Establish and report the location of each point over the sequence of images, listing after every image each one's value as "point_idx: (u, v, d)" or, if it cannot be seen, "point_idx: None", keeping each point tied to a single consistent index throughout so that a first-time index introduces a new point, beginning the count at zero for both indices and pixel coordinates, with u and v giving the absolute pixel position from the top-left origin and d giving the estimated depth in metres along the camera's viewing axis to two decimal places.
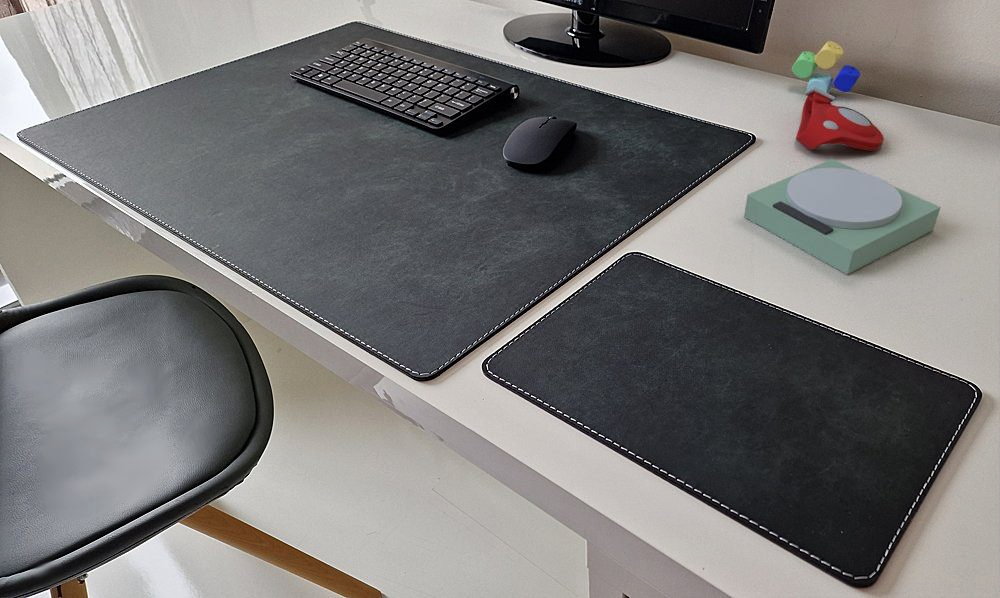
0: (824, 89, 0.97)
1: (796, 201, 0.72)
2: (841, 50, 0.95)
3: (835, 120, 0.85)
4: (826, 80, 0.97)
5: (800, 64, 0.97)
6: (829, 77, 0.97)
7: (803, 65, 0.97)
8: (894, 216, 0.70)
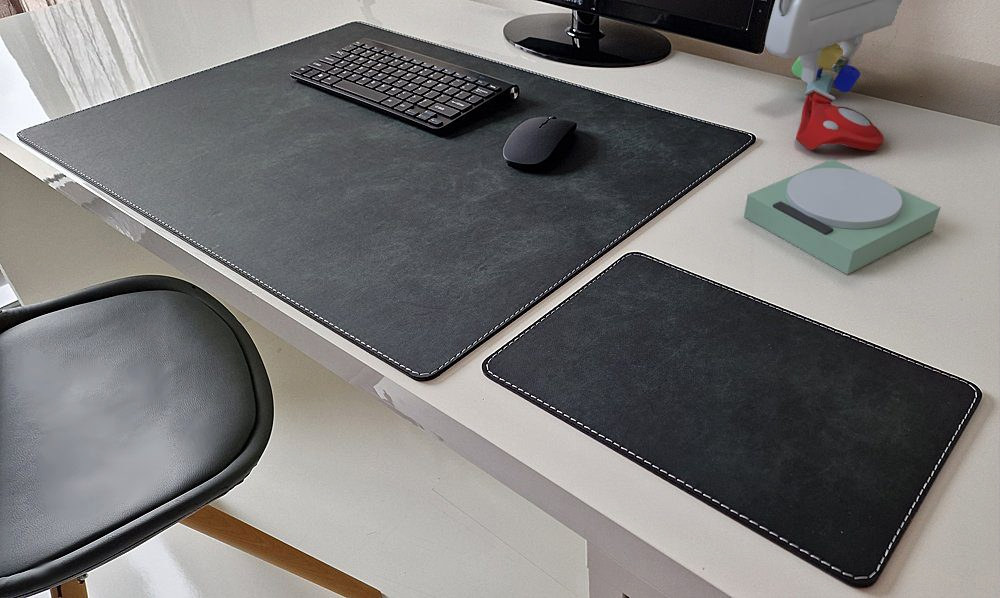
0: (824, 89, 0.97)
1: (796, 201, 0.72)
2: (841, 50, 0.95)
3: (834, 120, 0.85)
4: (826, 80, 0.97)
5: (800, 64, 0.97)
6: (829, 77, 0.97)
7: None
8: (894, 216, 0.70)
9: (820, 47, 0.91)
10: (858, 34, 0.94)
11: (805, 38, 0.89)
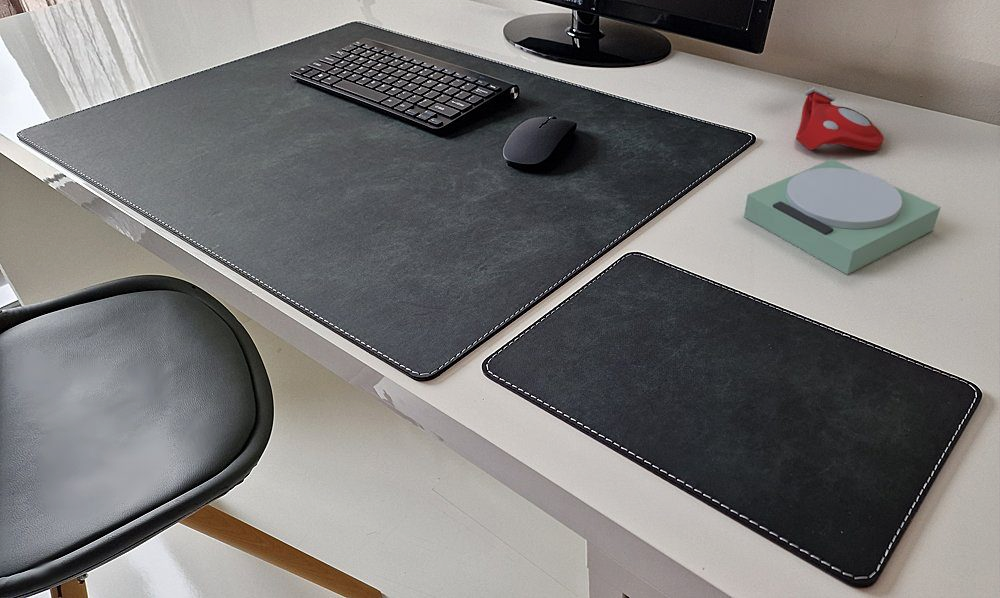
0: None
1: (796, 201, 0.72)
2: None
3: (834, 120, 0.85)
4: None
5: None
6: None
7: None
8: (894, 216, 0.70)
9: None
10: None
11: None
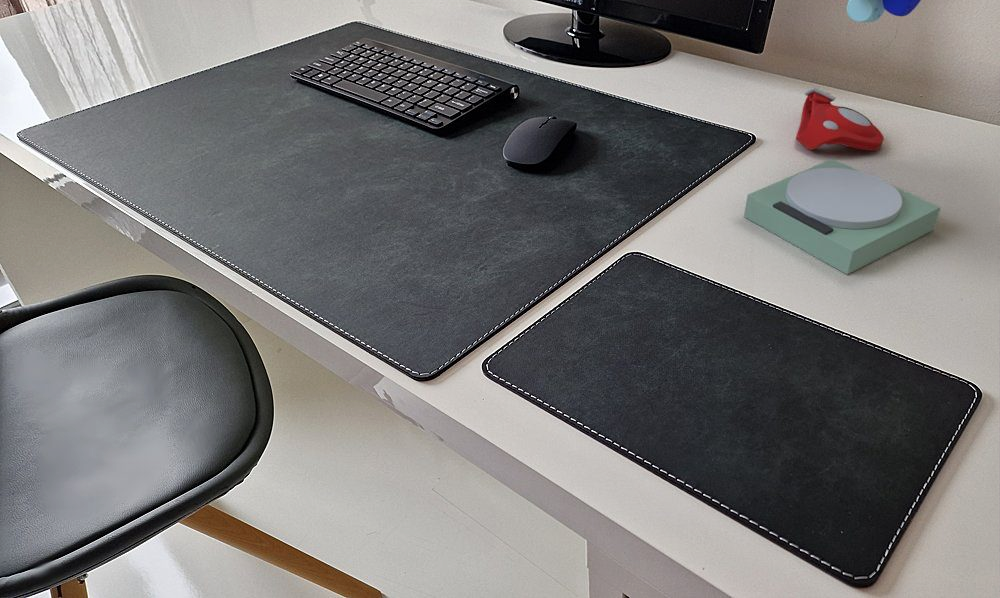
0: (869, 10, 0.69)
1: (796, 201, 0.72)
2: None
3: (834, 120, 0.85)
4: None
5: None
6: None
7: None
8: (894, 216, 0.70)
9: None
10: None
11: None
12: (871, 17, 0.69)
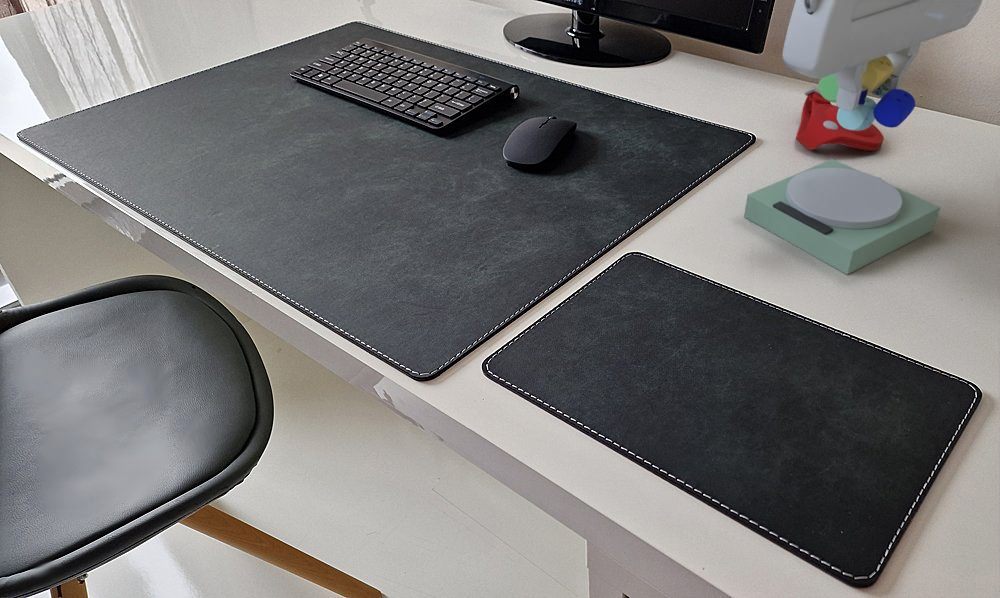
0: (859, 120, 0.67)
1: (796, 201, 0.72)
2: (890, 66, 0.65)
3: (834, 120, 0.85)
4: (864, 107, 0.67)
5: (829, 81, 0.68)
6: (870, 104, 0.68)
7: (833, 83, 0.68)
8: (894, 216, 0.70)
9: (864, 61, 0.62)
10: (918, 41, 0.64)
11: (842, 48, 0.59)
12: (862, 126, 0.68)
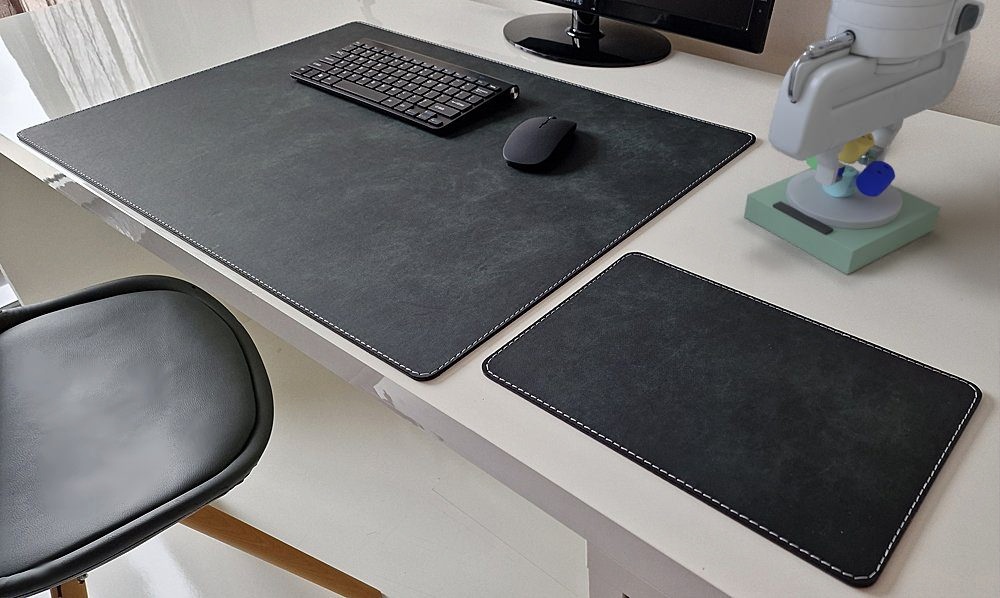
0: (843, 188, 0.71)
1: (796, 201, 0.72)
2: (871, 140, 0.69)
3: None
4: (847, 177, 0.71)
5: None
6: (853, 173, 0.72)
7: None
8: (894, 216, 0.70)
9: (845, 142, 0.66)
10: (896, 120, 0.68)
11: (824, 133, 0.63)
12: (845, 194, 0.72)
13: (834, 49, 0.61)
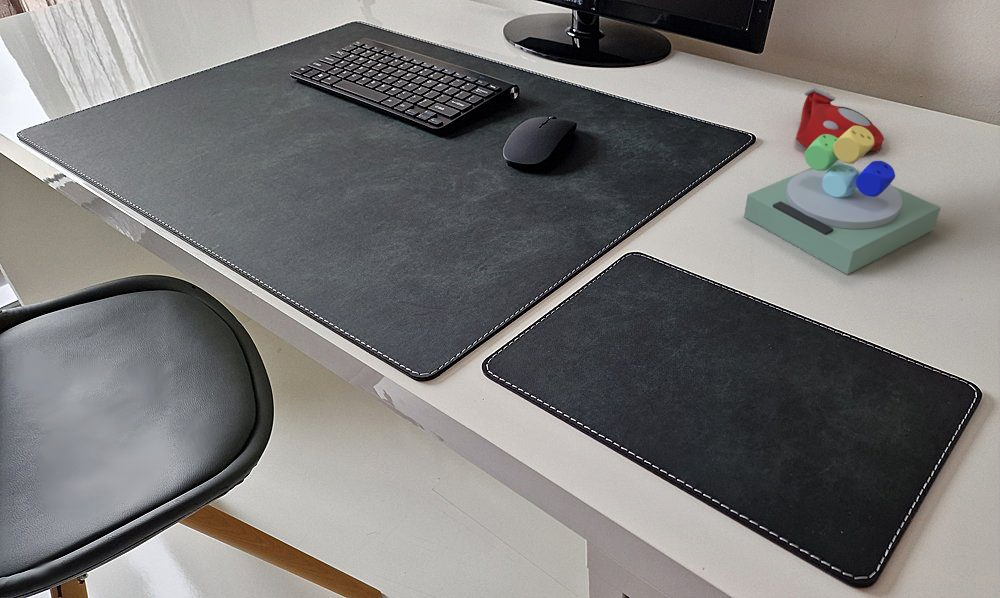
0: (843, 188, 0.71)
1: (796, 201, 0.72)
2: (871, 140, 0.69)
3: (834, 120, 0.85)
4: (847, 177, 0.71)
5: (814, 151, 0.72)
6: (853, 173, 0.72)
7: (818, 153, 0.72)
8: (894, 216, 0.70)
9: None
10: None
11: None
12: (845, 194, 0.72)
13: None
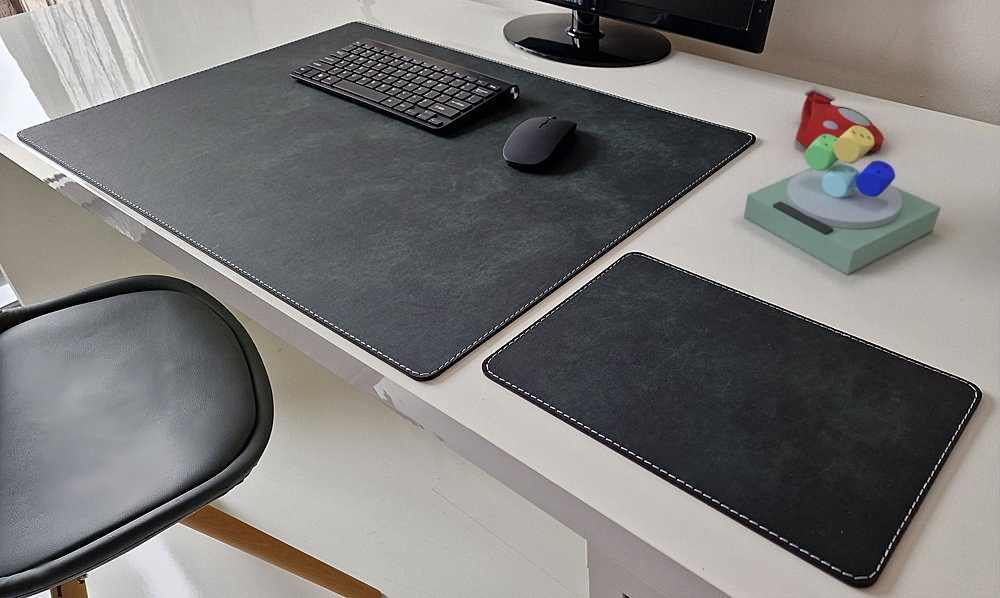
0: (843, 188, 0.71)
1: (796, 201, 0.72)
2: (871, 140, 0.69)
3: (834, 120, 0.85)
4: (847, 177, 0.71)
5: (814, 151, 0.72)
6: (853, 173, 0.72)
7: (818, 153, 0.72)
8: (894, 216, 0.70)
9: None
10: None
11: None
12: (845, 194, 0.72)
13: None
